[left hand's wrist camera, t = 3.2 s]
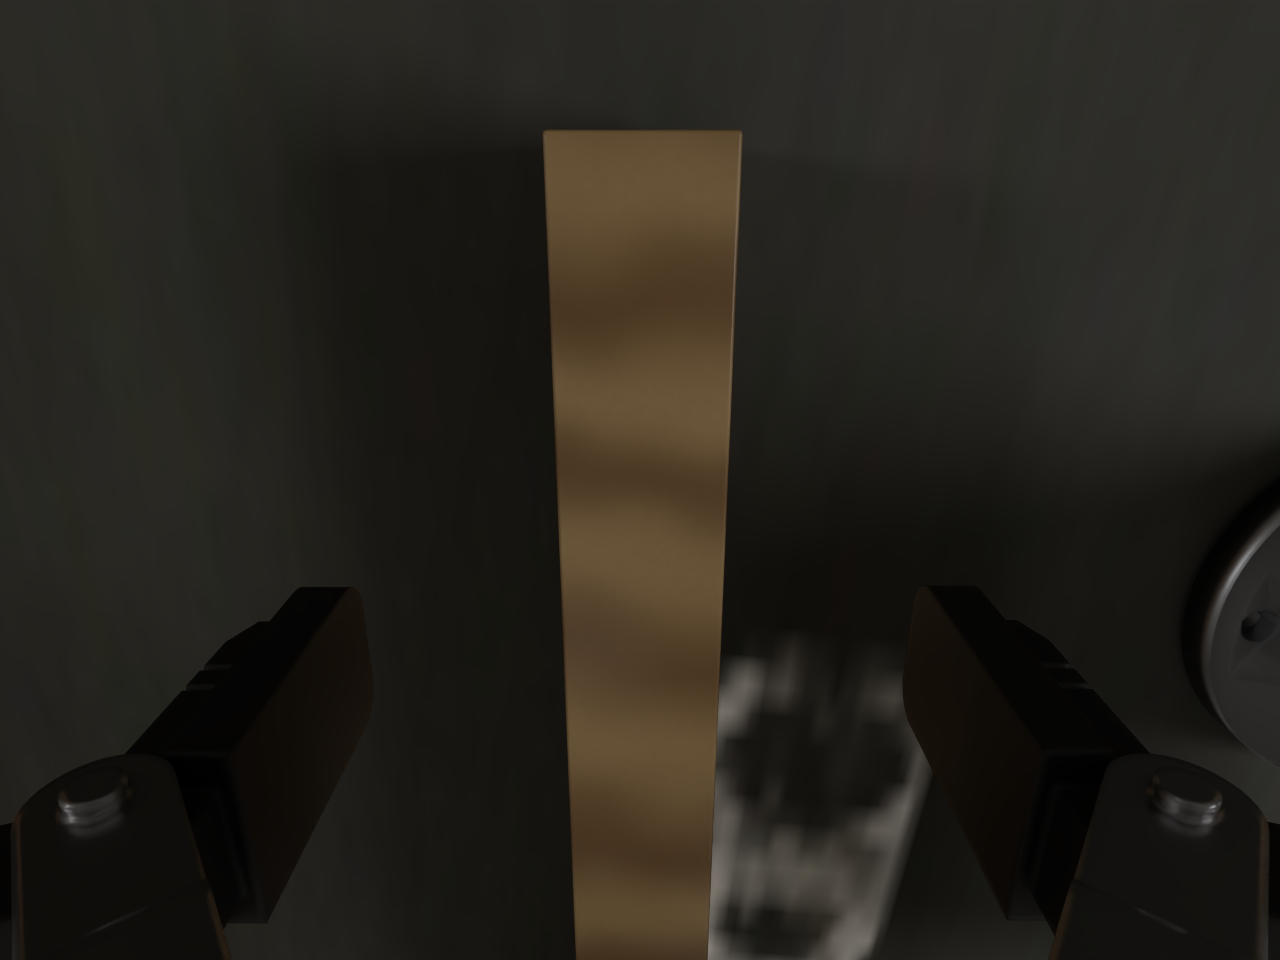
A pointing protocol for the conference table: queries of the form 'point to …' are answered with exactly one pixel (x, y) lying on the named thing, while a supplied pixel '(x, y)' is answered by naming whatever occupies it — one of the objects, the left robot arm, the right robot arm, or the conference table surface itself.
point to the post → (642, 516)
